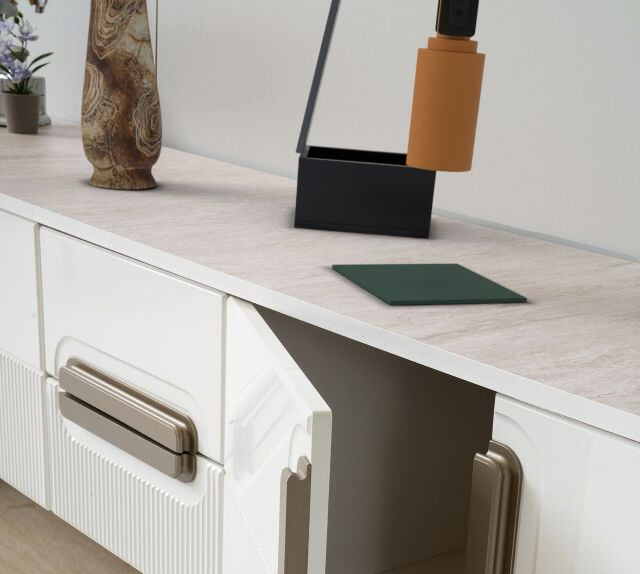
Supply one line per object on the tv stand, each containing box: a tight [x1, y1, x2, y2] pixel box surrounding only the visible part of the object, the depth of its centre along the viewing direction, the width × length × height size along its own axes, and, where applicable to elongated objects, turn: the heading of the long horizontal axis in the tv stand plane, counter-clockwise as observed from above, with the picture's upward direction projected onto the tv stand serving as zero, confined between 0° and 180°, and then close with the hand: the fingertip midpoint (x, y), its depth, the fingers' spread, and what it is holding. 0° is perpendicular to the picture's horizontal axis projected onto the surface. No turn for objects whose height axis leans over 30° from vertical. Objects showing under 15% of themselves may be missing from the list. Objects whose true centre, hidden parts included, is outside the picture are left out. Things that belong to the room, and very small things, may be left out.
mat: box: [331, 263, 528, 306], centre depth 108 cm, size 14×14×1 cm
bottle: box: [406, 0, 487, 173], centre depth 100 cm, size 6×6×17 cm
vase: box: [80, 0, 163, 190], centre depth 142 cm, size 10×11×30 cm
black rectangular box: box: [293, 144, 437, 239], centre depth 134 cm, size 16×13×8 cm
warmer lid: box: [295, 0, 343, 155], centre depth 129 cm, size 16×13×1 cm
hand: (454, 33), depth 99 cm, fingers closed on bottle, 3 cm apart
